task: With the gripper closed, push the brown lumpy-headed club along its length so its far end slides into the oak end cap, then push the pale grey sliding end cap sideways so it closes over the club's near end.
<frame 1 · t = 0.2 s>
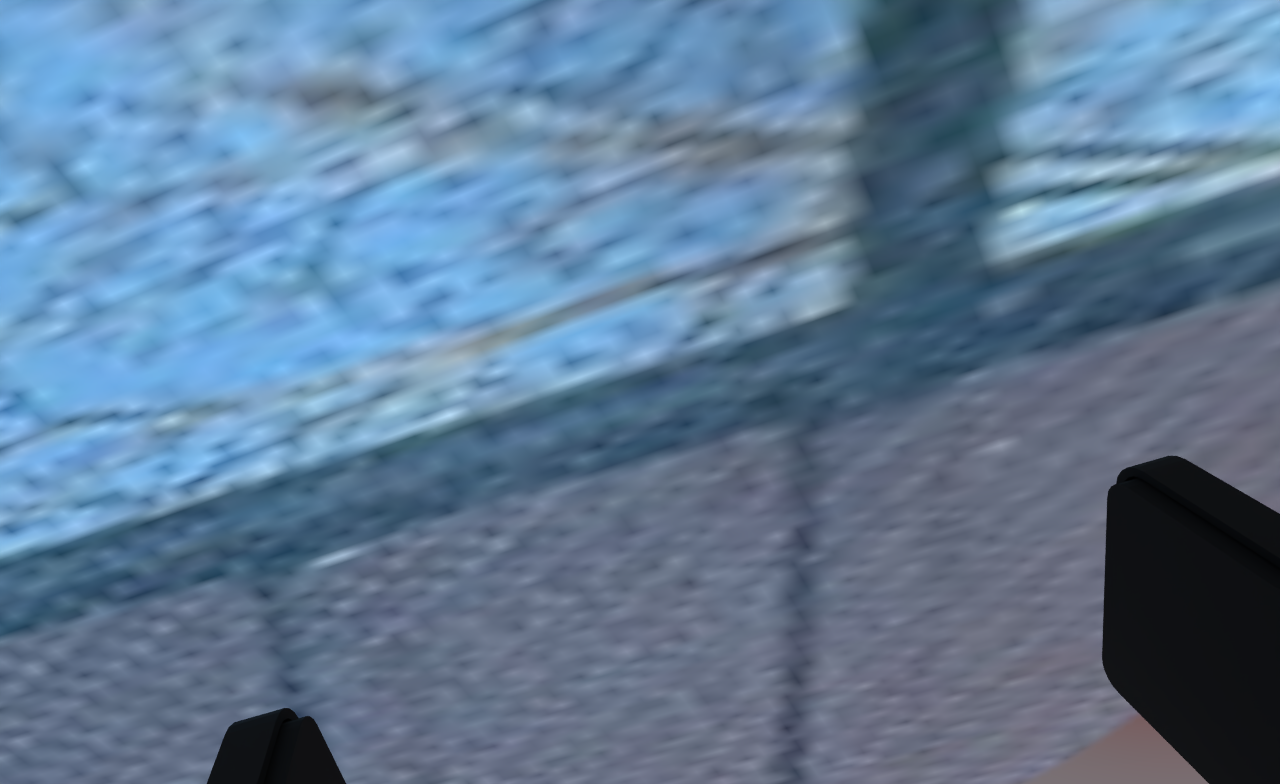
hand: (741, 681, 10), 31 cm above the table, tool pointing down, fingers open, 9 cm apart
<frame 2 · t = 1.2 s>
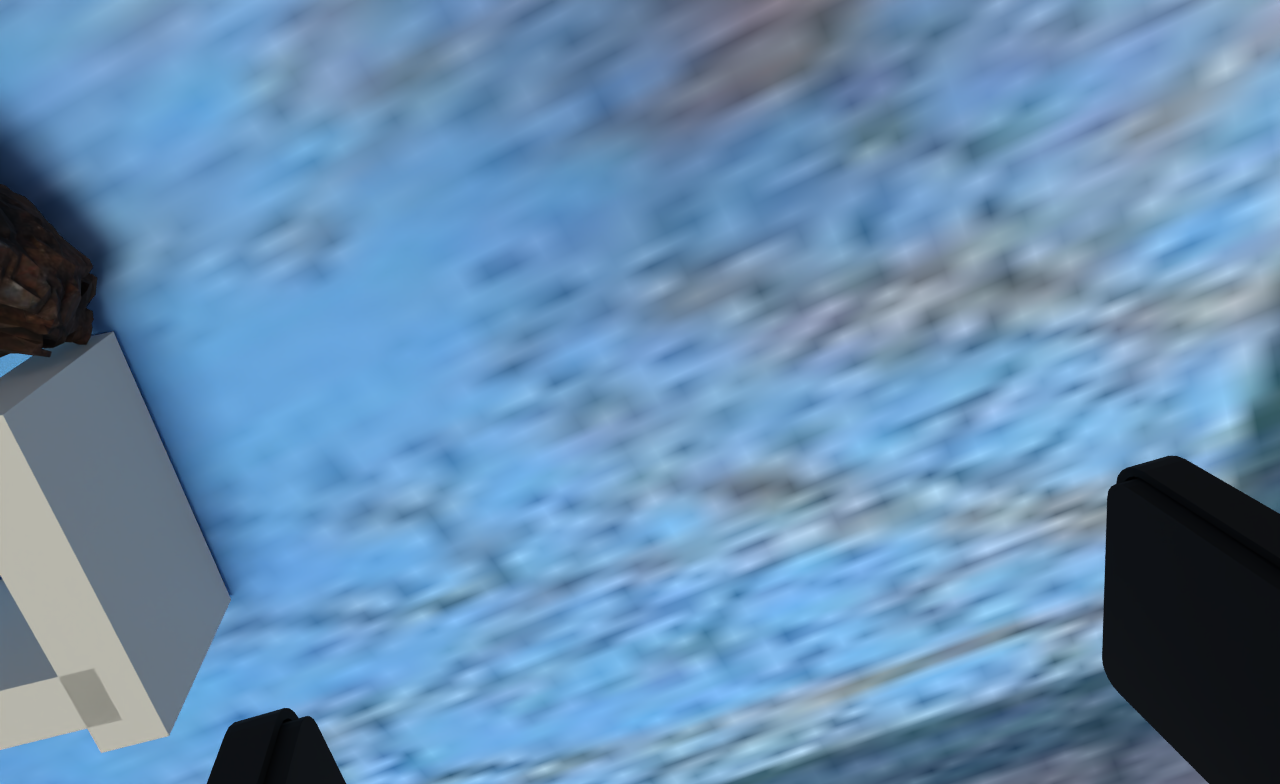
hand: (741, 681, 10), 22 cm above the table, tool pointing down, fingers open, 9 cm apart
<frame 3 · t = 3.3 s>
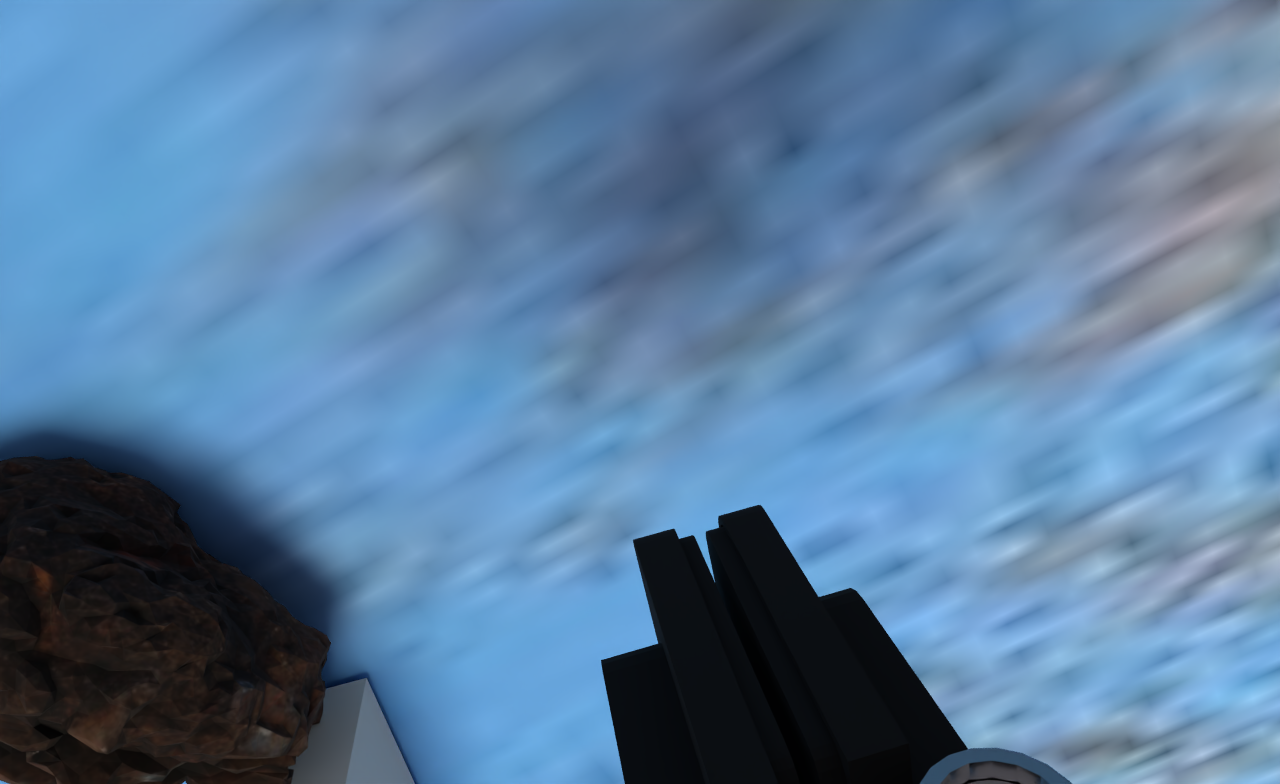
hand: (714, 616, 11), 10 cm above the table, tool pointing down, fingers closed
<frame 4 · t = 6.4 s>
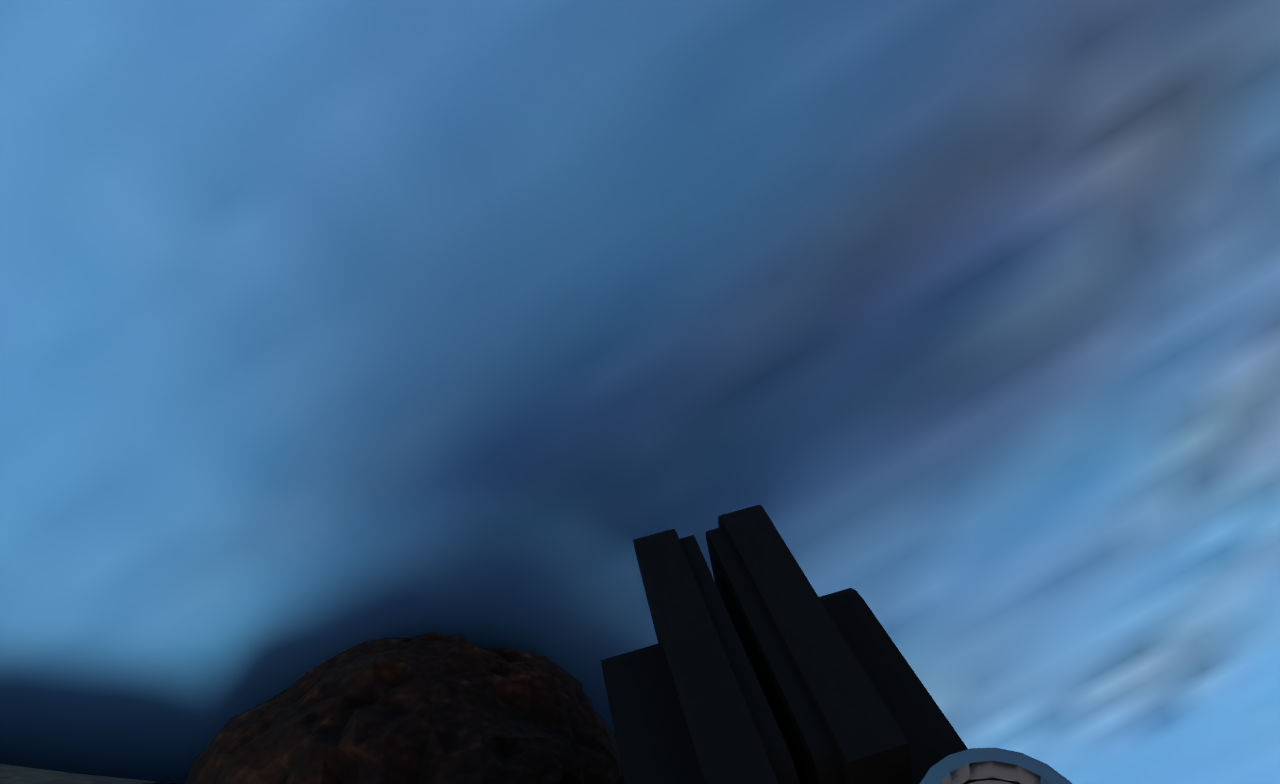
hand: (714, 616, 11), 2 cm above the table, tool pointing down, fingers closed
brown lumpy-headed club: (250, 750, 13), on the table, touching gripper
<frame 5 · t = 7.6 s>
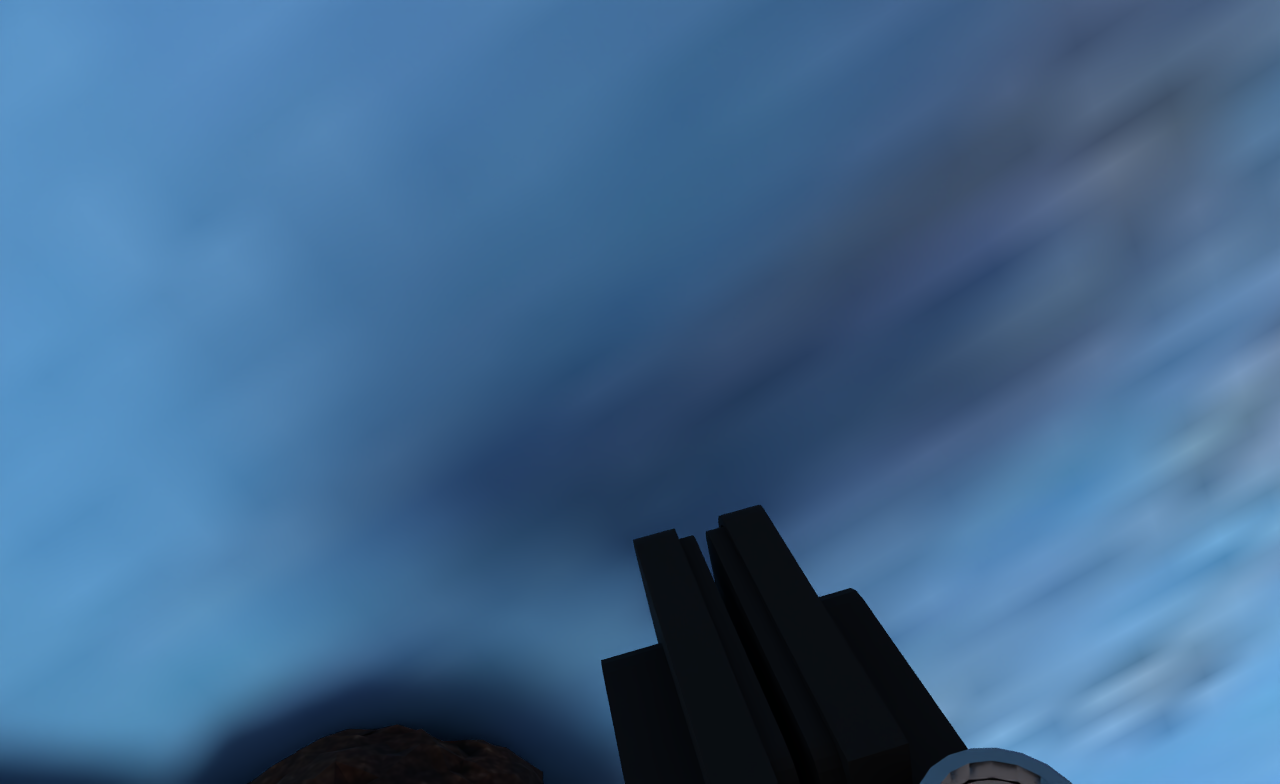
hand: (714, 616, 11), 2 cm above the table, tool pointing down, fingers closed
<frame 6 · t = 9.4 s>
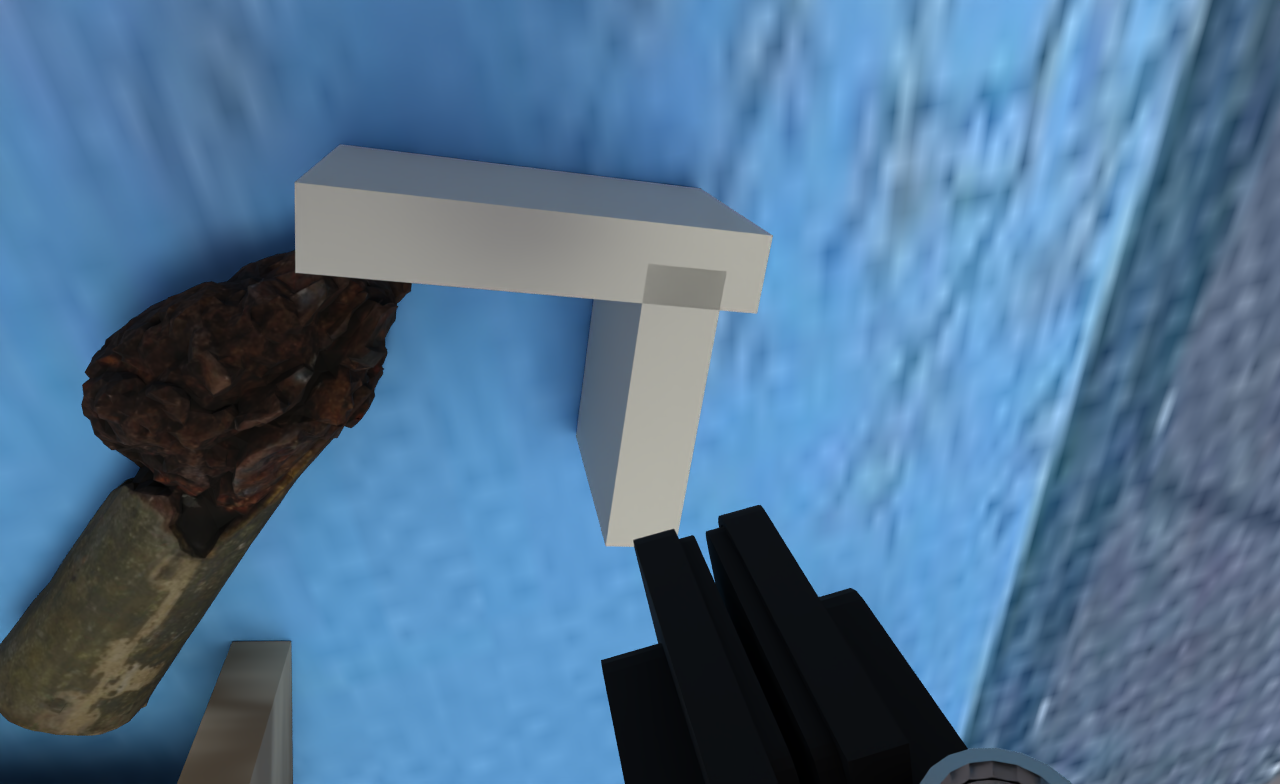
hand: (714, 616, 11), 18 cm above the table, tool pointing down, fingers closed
brown lumpy-headed club: (204, 439, 28), on the table
oak end cap: (101, 709, 30), on the table
sliding end cap: (522, 343, 24), point 4 cm above the table, slide at 11.0 cm
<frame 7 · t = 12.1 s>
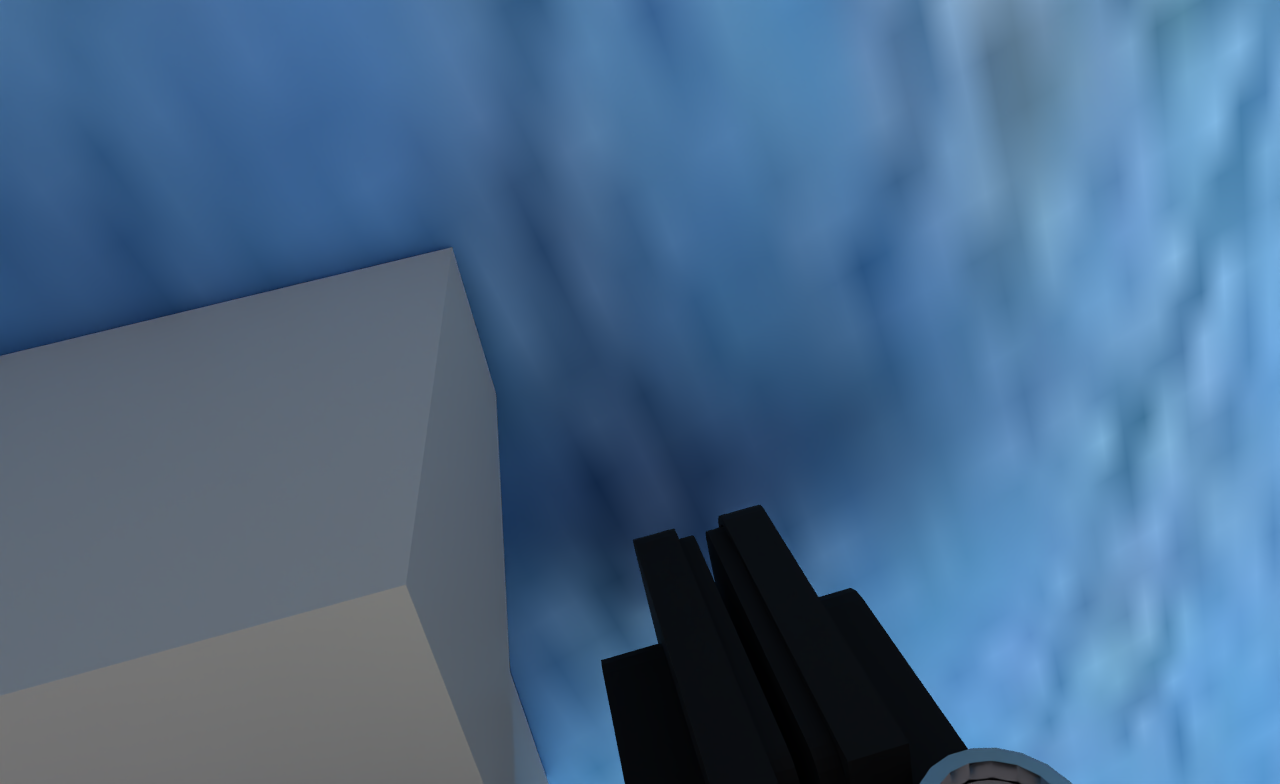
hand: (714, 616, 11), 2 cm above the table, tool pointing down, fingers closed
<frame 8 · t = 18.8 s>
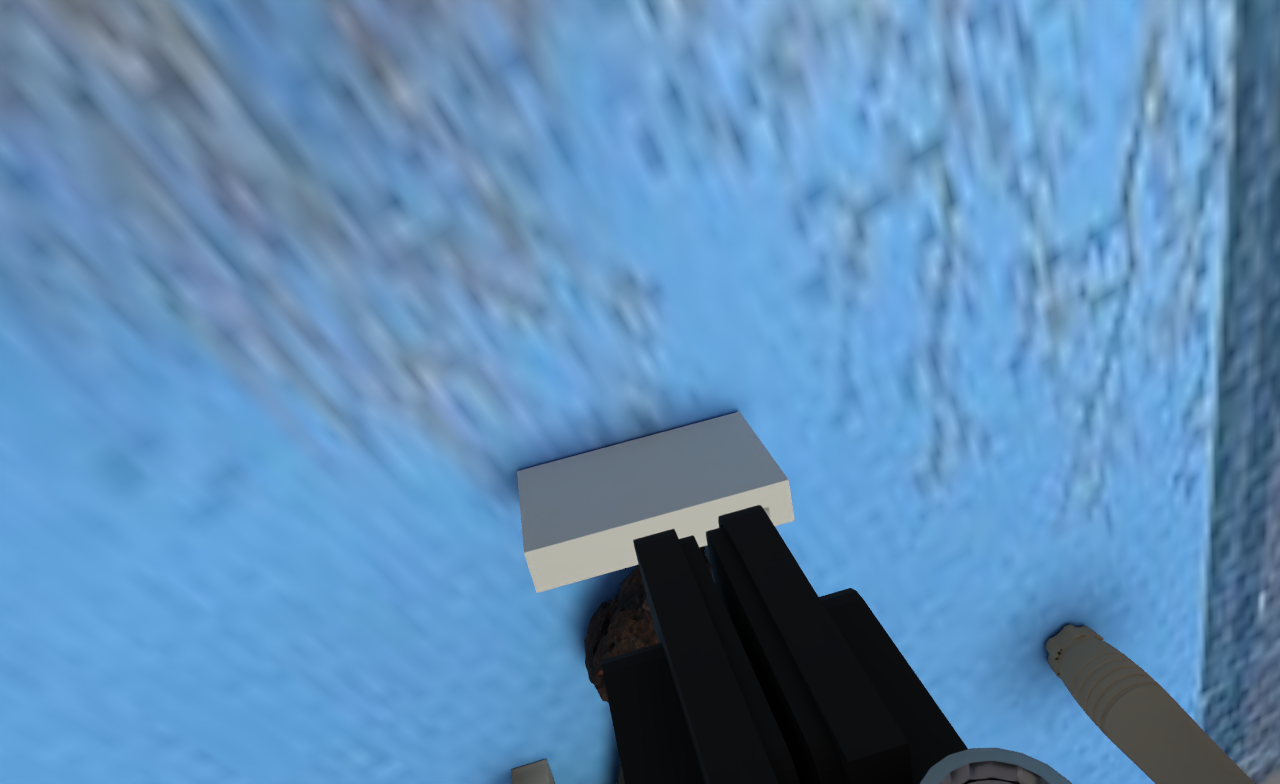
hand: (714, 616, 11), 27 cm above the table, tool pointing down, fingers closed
handle: (1064, 641, 50), on the table
brown lumpy-headed club: (642, 661, 46), on the table
oak end cap: (635, 773, 48), on the table
sliding end cap: (661, 558, 38), point 4 cm above the table, slide at 1.6 cm
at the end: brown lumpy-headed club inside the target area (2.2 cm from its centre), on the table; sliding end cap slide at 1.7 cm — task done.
